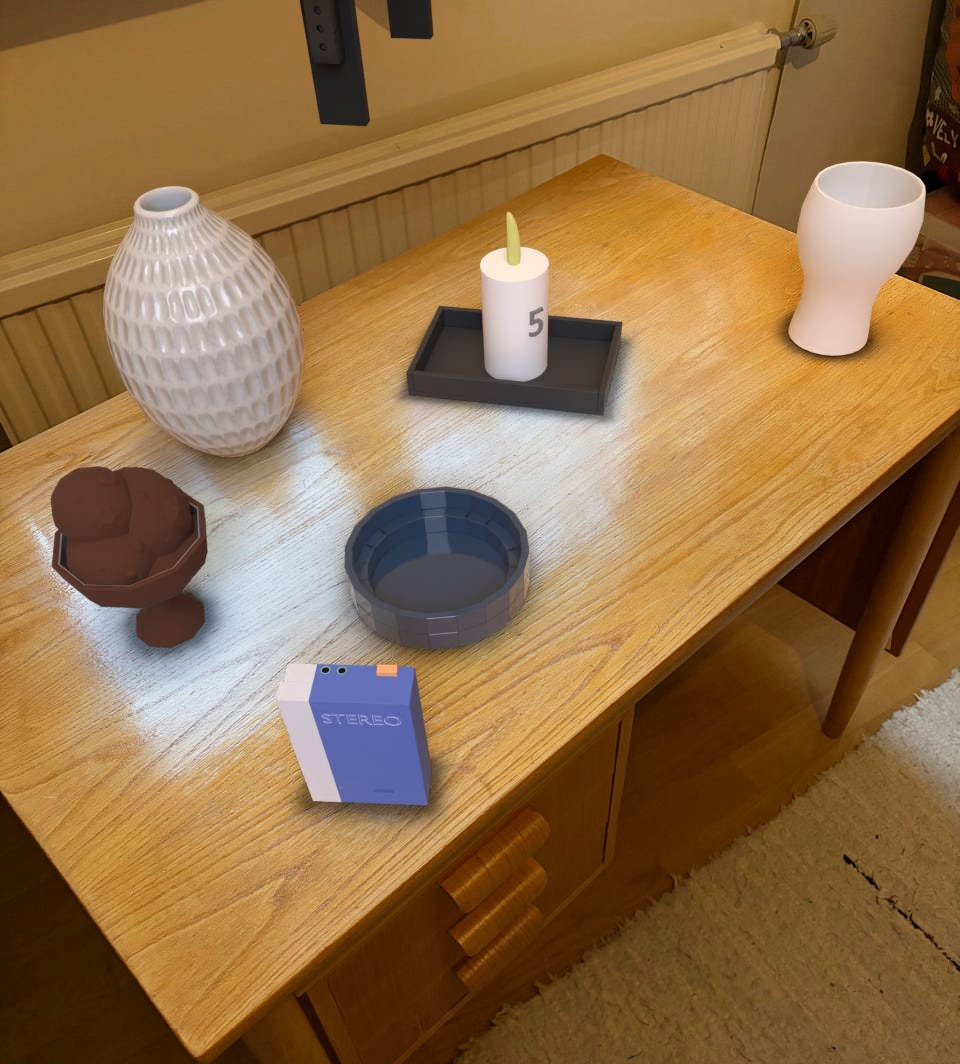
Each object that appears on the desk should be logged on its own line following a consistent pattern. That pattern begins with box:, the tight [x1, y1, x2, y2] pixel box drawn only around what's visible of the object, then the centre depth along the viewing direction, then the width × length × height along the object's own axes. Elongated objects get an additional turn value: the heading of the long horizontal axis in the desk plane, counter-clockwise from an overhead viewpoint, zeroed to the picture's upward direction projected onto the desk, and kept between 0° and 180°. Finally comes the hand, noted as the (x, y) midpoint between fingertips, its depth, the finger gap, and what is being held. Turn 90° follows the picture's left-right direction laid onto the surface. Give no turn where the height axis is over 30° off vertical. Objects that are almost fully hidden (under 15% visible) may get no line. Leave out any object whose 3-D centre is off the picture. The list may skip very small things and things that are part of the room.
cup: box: [787, 161, 927, 357], centre depth 87 cm, size 11×11×15 cm
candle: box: [479, 211, 550, 382], centre depth 85 cm, size 6×6×15 cm
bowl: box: [343, 486, 531, 651], centre depth 71 cm, size 14×14×4 cm
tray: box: [406, 305, 623, 416], centre depth 90 cm, size 19×12×2 cm, turn 77°
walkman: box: [275, 662, 433, 806], centre depth 57 cm, size 8×3×12 cm, turn 86°
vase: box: [102, 185, 306, 459], centre depth 78 cm, size 16×16×22 cm
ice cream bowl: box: [50, 465, 209, 649], centre depth 66 cm, size 11×11×15 cm
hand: (381, 77), depth 55 cm, fingers open, 13 cm apart
